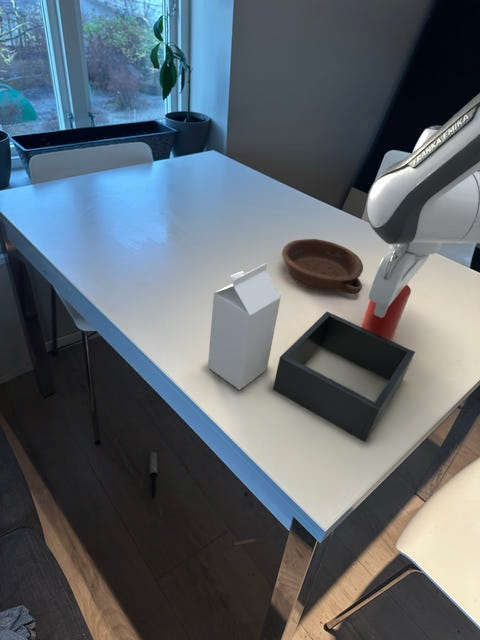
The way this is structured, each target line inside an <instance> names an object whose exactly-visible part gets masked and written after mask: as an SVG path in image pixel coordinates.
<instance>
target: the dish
mask: <svg viewBox="0 0 480 640" xmlns="http://www.w3.org/2000/svg"><path fill="white" fill-rule="evenodd" d="M281 257H282V259H283V261H284V264H285V268H286V271H287V273H288V275H289V276H290V277H291V278H292V279H293V280H294V281H295V282H296V283H298V284H300V285H302V286H304V287H306V288H310V289H314V290H320V291H342V292H344V293H348V294H351V295H358V294H359V293H360V292H361V290H362V289H363V284H362V282H361V280H360V279H359V278H360V276H361V275H362V273H363V271H364V264H363V261H362V260H361V258H360V257H359V256H358V255H357V254H356V253H355V252H353V251H352V250H351V249H348V248H347V247H345V246H342V245H341V244H338V243H335V242H332V241H327V240H325V239H319V238H302V239H295V240H292V241H289V242H288V243H287V244H286V245H284V246H283V248H282V252H281Z"/></svg>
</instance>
